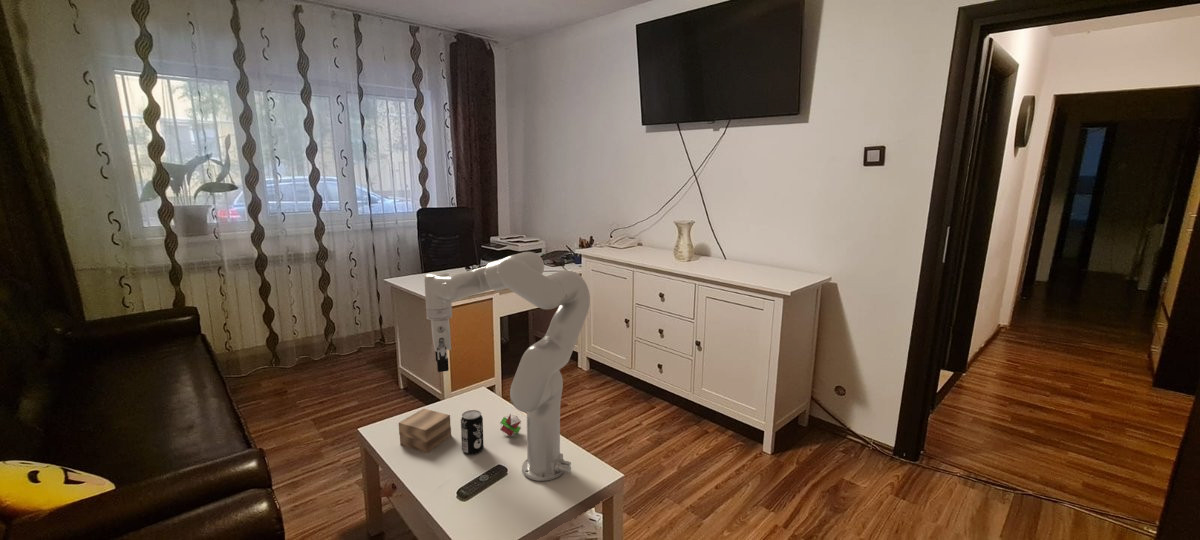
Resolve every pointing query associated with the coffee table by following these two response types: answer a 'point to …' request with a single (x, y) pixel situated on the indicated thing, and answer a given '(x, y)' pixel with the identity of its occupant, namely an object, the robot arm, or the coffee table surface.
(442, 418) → the walnut block upper
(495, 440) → the coffee table surface
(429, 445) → the walnut block lower
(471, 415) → the beverage can
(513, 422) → the geometric puzzle
